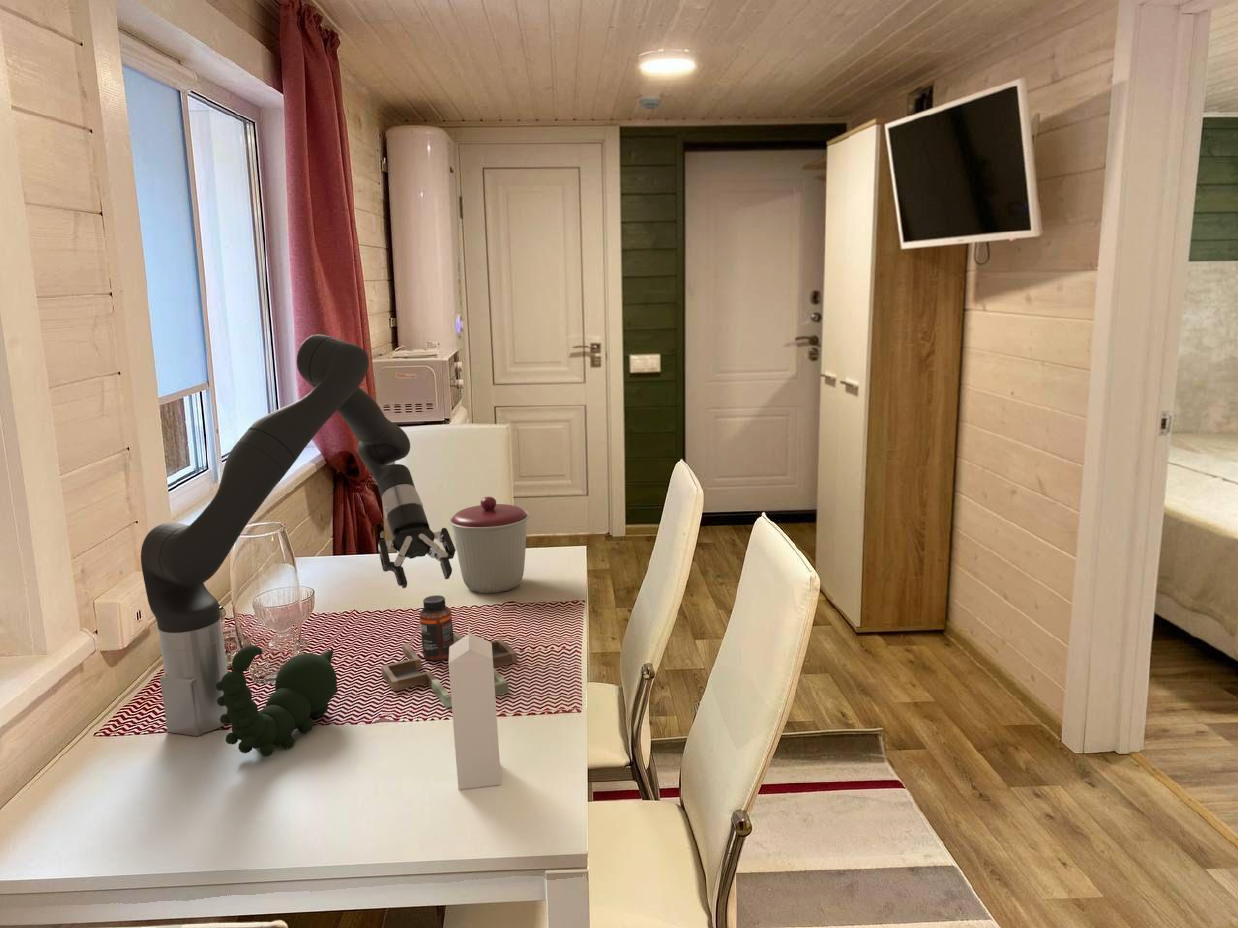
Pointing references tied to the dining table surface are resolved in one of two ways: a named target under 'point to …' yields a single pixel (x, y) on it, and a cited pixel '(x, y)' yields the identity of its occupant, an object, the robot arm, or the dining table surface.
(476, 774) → the milk
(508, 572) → the canister
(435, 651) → the supplement bottle
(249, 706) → the toy figurine
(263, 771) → the dining table surface
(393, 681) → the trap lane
